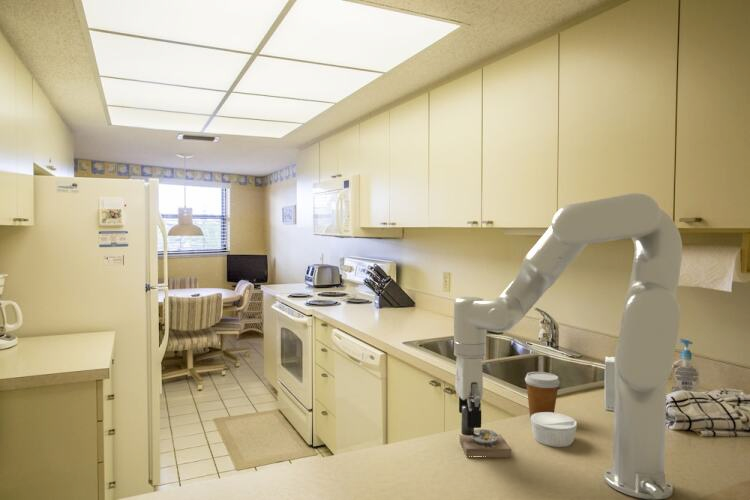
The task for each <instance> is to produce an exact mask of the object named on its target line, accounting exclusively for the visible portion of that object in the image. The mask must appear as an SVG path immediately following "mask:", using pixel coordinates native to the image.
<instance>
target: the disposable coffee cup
mask: <svg viewBox="0 0 750 500" xmlns="http://www.w3.org/2000/svg"><path fill="white" fill-rule="evenodd" d="M524 381H525V383H526V391H527V393H526V394H527V400H528V401H527V403H528V409H529V418H531V416H532V415H533V414H535V413H540V412H552V413H555V408H556V402H557V396H558V388H559V386H560V384H561V381H560V379H559V376H558V375H556V374H554V373H549V372H544V371H531V372H527V373H526V375H525V377H524Z"/></svg>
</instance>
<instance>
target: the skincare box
mask: <svg viewBox="0 0 750 500" xmlns="http://www.w3.org/2000/svg"><path fill="white" fill-rule="evenodd" d="M604 359H605V361H604V410H606V411H613V412H614V393H615V365H614V360H615V356H608V355H607V356H605V358H604Z"/></svg>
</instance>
